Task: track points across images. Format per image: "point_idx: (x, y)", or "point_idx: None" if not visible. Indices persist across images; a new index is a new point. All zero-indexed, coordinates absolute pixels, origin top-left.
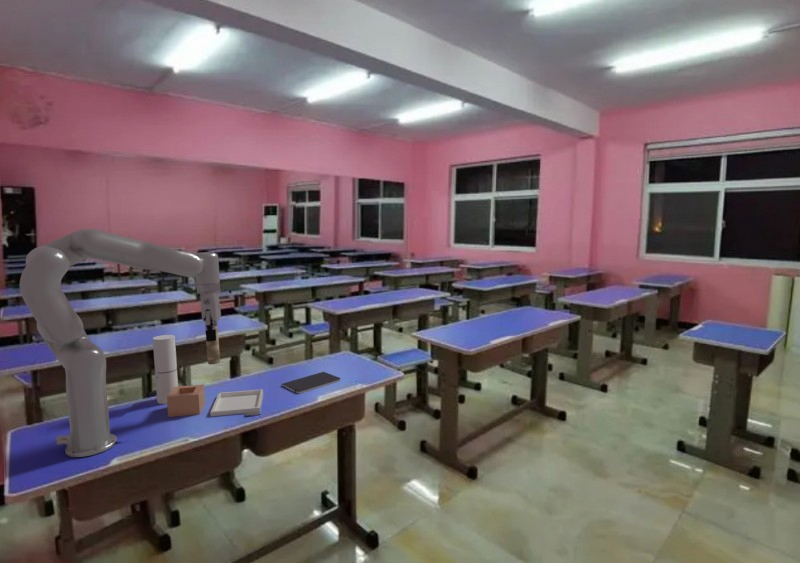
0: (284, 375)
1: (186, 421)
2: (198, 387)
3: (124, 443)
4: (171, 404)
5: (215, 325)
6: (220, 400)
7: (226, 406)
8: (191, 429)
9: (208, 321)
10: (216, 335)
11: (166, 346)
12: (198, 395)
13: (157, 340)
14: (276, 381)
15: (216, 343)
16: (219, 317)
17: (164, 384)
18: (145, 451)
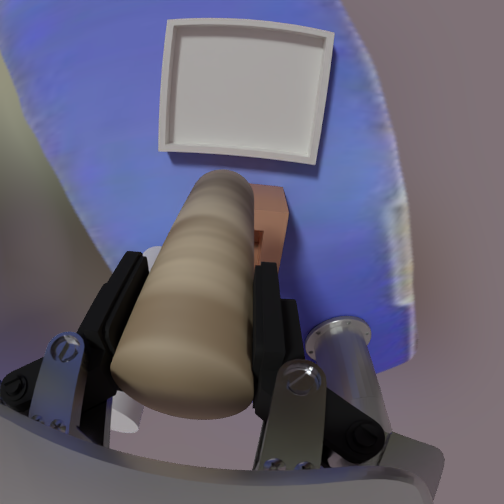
0: (43, 9)
1: (300, 215)
2: None
3: (351, 304)
4: None
5: (87, 352)
6: (196, 141)
7: (252, 120)
8: (352, 202)
9: (431, 483)
10: (230, 283)
11: None
12: (288, 212)
13: (138, 427)
14: (75, 13)
15: (239, 239)
16: (117, 475)
17: None
18: (401, 270)
